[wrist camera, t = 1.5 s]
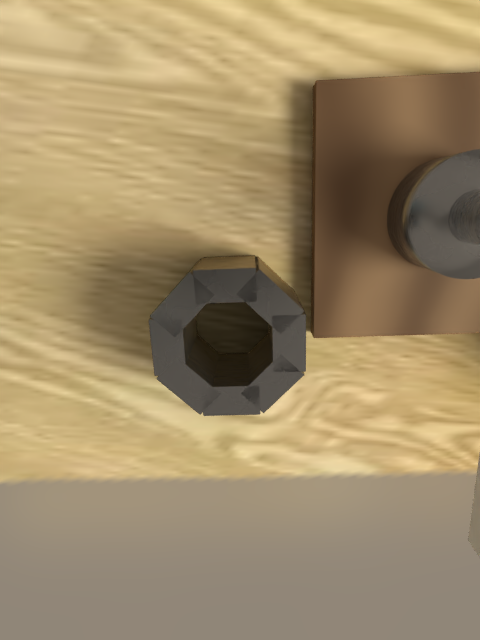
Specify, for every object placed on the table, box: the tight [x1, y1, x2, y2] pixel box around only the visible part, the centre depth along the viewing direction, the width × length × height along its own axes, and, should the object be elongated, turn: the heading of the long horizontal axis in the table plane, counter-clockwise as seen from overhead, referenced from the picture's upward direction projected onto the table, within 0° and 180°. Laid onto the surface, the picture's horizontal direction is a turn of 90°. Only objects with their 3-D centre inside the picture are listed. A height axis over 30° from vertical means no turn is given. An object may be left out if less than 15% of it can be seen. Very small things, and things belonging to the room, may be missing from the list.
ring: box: [149, 255, 306, 416], centre depth 23 cm, size 8×8×5 cm
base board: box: [311, 72, 480, 338], centre depth 23 cm, size 14×14×1 cm
